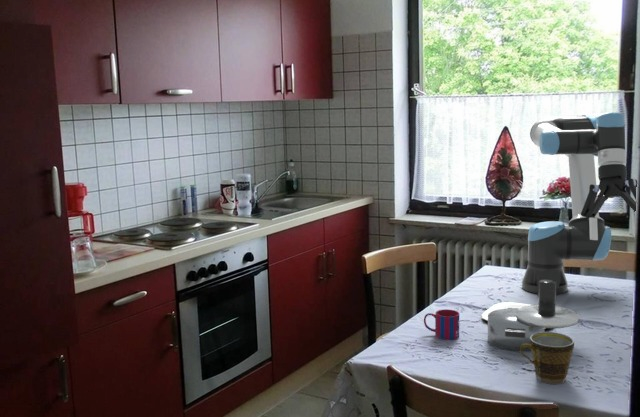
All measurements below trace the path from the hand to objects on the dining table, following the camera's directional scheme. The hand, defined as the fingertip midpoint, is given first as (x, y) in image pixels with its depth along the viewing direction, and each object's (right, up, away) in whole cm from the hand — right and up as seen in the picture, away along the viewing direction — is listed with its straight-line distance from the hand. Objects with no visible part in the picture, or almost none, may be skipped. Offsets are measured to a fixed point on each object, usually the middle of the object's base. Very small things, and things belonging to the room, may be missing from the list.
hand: (614, 238), depth 191 cm
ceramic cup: (-30, -33, -31) cm, 54 cm away
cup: (-50, -28, +1) cm, 57 cm away
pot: (-30, -28, -6) cm, 42 cm away
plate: (-23, -26, +13) cm, 37 cm away
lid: (-23, -21, -9) cm, 33 cm away
